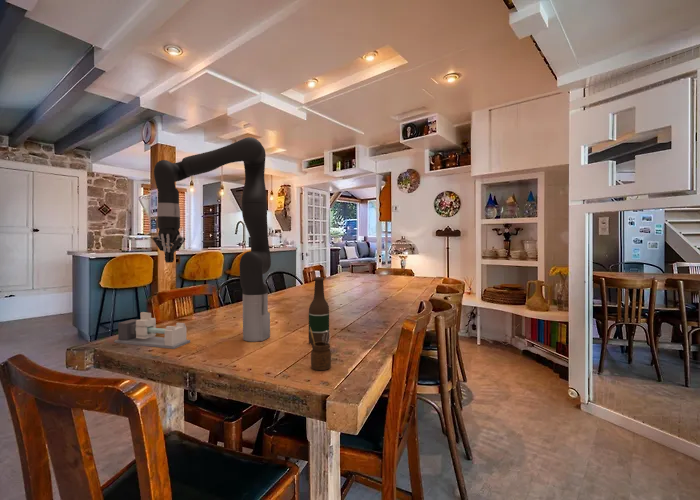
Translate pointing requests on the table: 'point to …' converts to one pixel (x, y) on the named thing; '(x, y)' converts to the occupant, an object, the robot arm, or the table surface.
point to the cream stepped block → (145, 325)
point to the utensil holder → (320, 354)
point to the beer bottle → (319, 314)
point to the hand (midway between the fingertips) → (169, 262)
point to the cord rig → (172, 336)
